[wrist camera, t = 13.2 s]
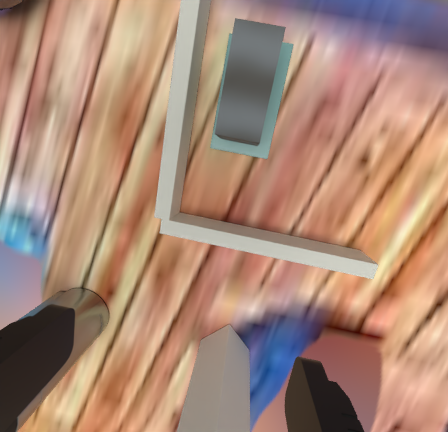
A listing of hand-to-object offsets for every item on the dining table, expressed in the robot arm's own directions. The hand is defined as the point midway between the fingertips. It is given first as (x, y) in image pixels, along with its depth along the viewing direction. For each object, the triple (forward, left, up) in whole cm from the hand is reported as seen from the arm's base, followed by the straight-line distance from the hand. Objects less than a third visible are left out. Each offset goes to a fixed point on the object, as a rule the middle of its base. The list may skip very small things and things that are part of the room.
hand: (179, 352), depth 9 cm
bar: (-1, +14, -28) cm, 31 cm away
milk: (+4, -24, -28) cm, 37 cm away
